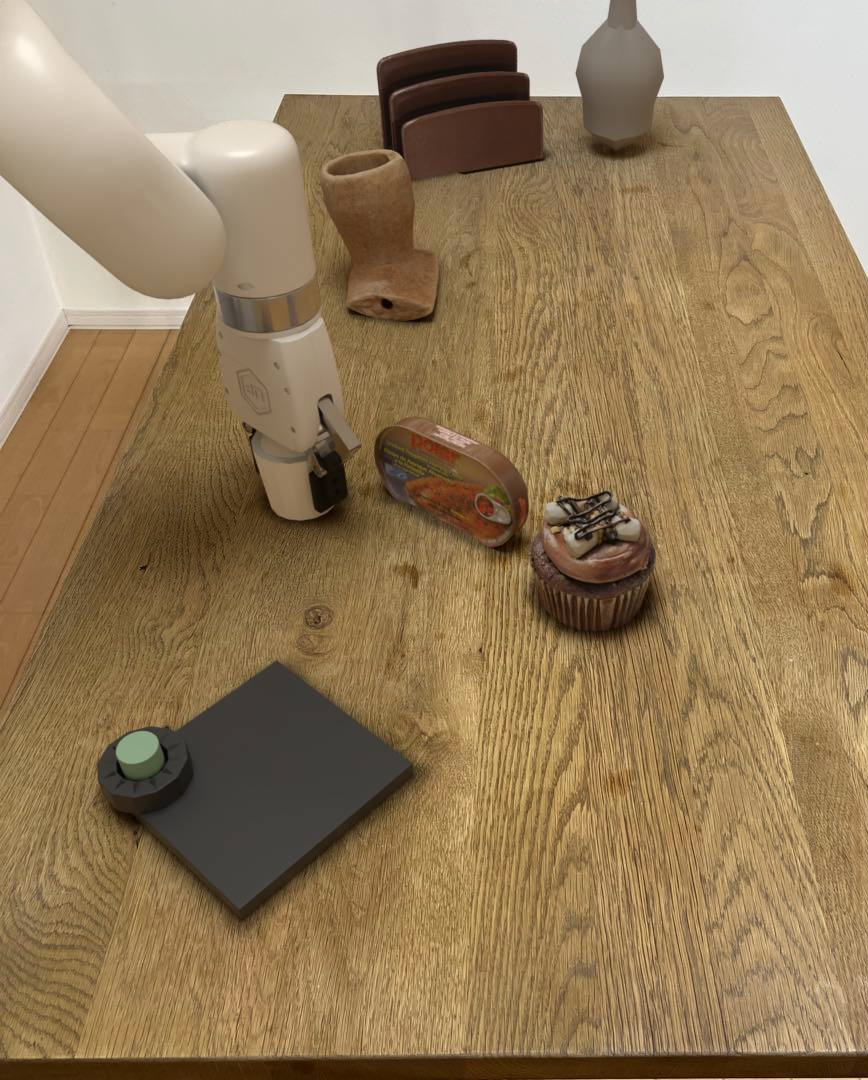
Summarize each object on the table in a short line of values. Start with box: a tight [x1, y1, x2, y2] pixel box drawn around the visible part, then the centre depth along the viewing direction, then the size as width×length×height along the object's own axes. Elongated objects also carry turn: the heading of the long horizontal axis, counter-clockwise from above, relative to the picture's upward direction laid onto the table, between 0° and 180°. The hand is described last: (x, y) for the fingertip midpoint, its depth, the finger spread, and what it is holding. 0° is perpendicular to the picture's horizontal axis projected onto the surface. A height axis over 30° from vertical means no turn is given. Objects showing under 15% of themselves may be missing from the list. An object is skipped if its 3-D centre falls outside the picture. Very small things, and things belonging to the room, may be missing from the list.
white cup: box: [251, 424, 336, 521], centre depth 93 cm, size 7×7×7 cm
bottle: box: [575, 0, 665, 152], centre depth 144 cm, size 11×11×30 cm
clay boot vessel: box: [319, 148, 440, 322], centre depth 118 cm, size 15×12×15 cm
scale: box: [96, 660, 414, 921], centre depth 72 cm, size 15×15×4 cm
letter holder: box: [376, 38, 545, 181], centre depth 147 cm, size 10×20×14 cm, turn 113°
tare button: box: [116, 731, 165, 781], centre depth 70 cm, size 3×3×2 cm
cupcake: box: [528, 490, 658, 633], centre depth 83 cm, size 10×10×10 cm
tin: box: [373, 415, 530, 548], centre depth 91 cm, size 15×3×8 cm, turn 53°
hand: (301, 484), depth 94 cm, fingers closed on white cup, 6 cm apart
